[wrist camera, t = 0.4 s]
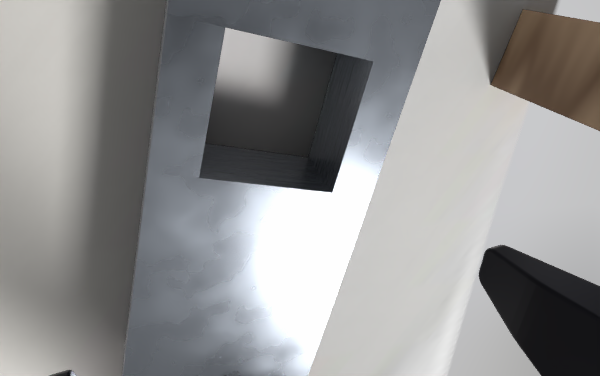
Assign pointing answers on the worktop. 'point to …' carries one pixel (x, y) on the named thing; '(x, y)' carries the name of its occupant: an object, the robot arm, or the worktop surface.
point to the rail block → (260, 189)
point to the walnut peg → (554, 65)
